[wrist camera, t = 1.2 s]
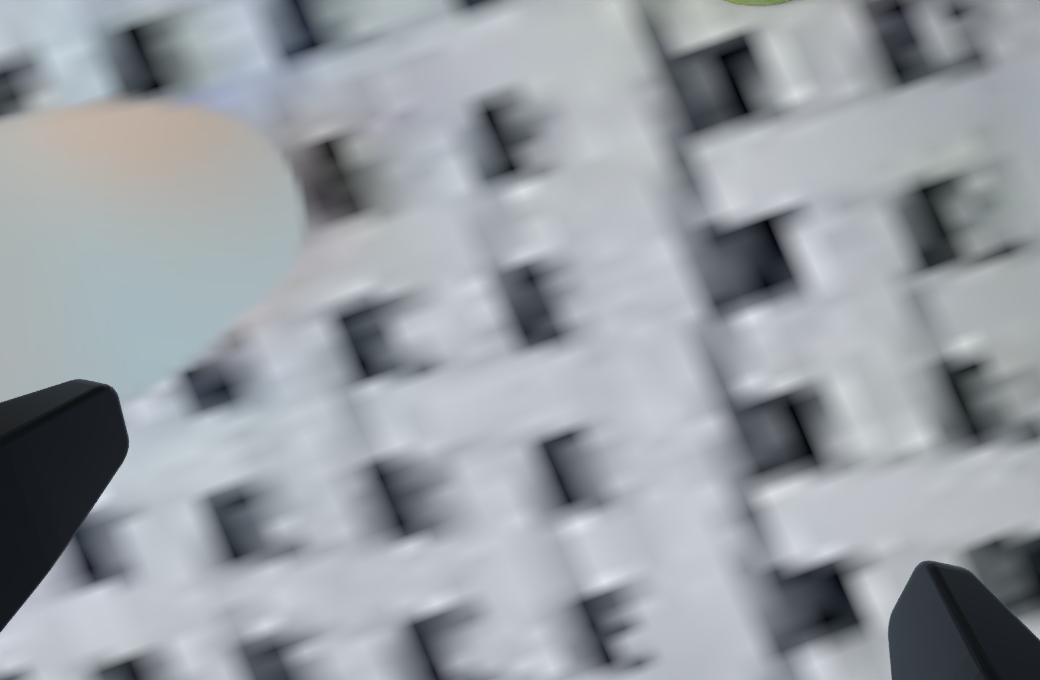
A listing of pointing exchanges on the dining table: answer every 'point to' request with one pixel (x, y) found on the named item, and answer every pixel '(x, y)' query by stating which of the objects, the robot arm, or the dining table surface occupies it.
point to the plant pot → (757, 2)
